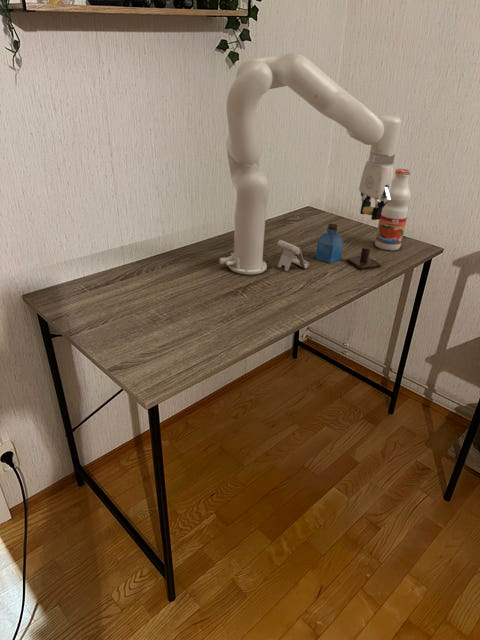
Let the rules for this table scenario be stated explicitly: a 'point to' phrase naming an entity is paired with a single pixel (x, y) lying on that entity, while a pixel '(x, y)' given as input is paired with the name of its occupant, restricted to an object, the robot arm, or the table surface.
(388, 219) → the white yogurt drink bottle
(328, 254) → the perfume bottle
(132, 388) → the table surface
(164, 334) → the table surface
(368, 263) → the stand
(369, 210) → the chip
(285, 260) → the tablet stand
